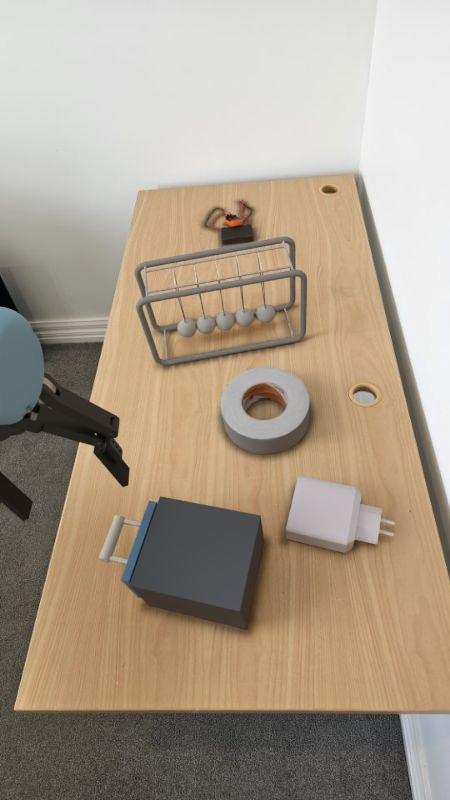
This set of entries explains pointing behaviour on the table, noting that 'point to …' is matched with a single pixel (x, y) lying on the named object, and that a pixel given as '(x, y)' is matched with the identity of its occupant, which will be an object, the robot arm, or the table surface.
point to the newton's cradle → (224, 319)
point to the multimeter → (235, 228)
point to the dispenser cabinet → (200, 561)
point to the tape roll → (273, 431)
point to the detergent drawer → (137, 546)
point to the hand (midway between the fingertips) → (76, 495)
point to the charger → (332, 516)
